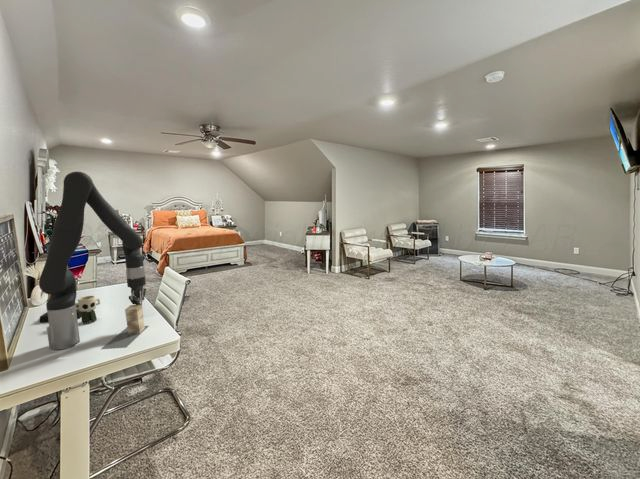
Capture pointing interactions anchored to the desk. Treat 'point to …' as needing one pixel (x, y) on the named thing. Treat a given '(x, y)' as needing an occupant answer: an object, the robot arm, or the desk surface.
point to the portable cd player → (45, 316)
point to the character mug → (87, 308)
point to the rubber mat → (122, 340)
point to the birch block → (134, 319)
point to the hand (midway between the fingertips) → (139, 311)
